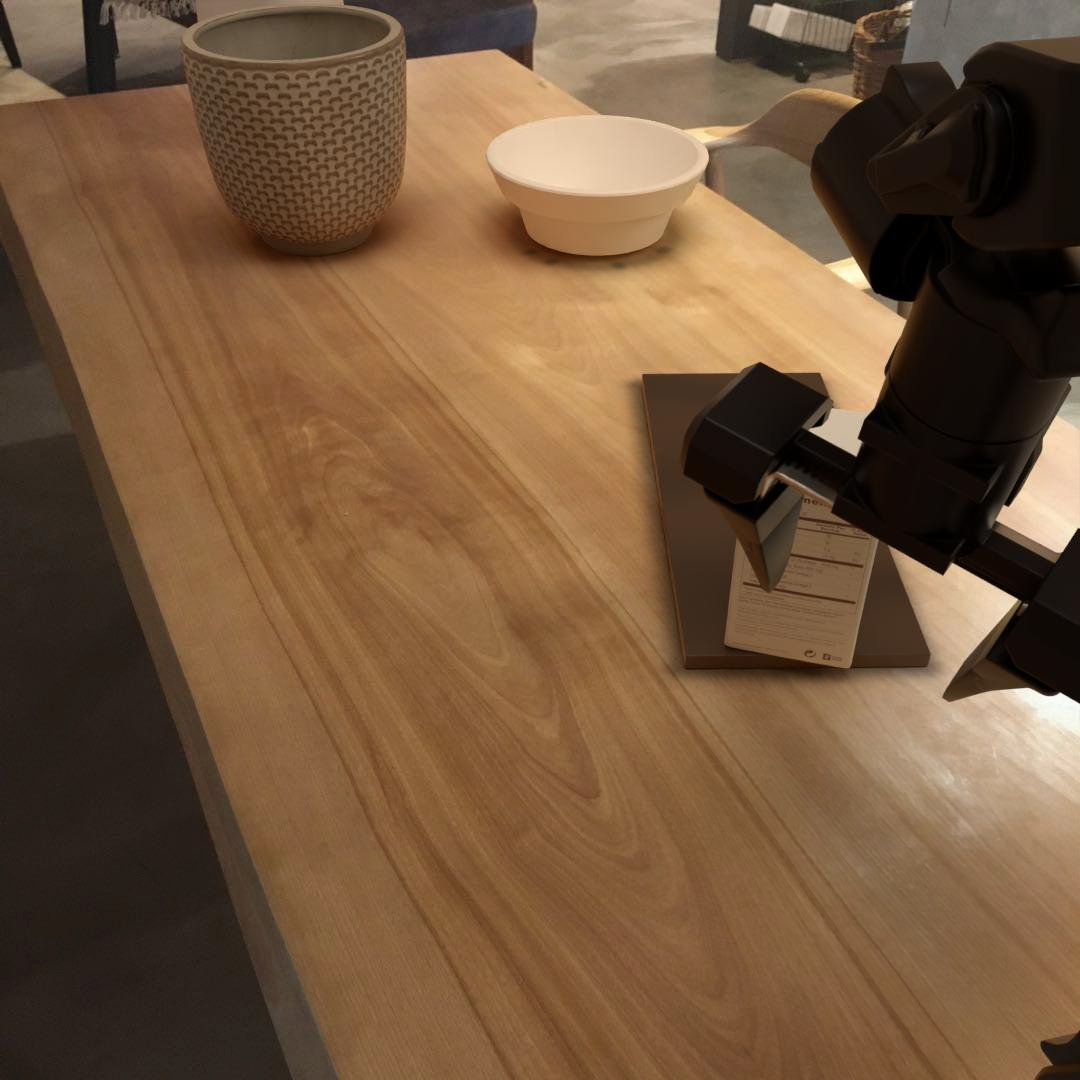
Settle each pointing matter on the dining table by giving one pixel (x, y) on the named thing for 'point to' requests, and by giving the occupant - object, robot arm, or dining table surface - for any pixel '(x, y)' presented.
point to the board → (709, 547)
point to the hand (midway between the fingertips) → (857, 637)
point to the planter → (302, 119)
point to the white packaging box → (809, 579)
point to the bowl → (596, 179)
